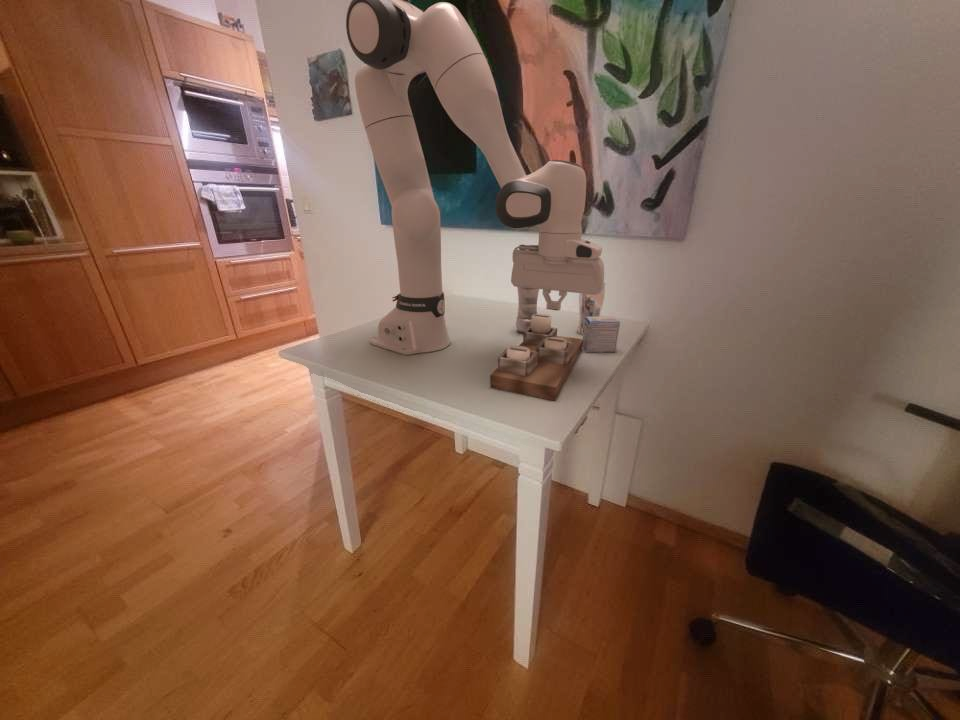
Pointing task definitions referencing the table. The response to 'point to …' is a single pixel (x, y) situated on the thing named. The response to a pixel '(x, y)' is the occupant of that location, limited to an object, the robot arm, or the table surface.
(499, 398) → the table surface
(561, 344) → the knob
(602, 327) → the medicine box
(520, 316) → the plastic bottle
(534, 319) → the knob
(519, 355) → the knob
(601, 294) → the beer glass
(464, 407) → the table surface
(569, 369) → the knob mount
